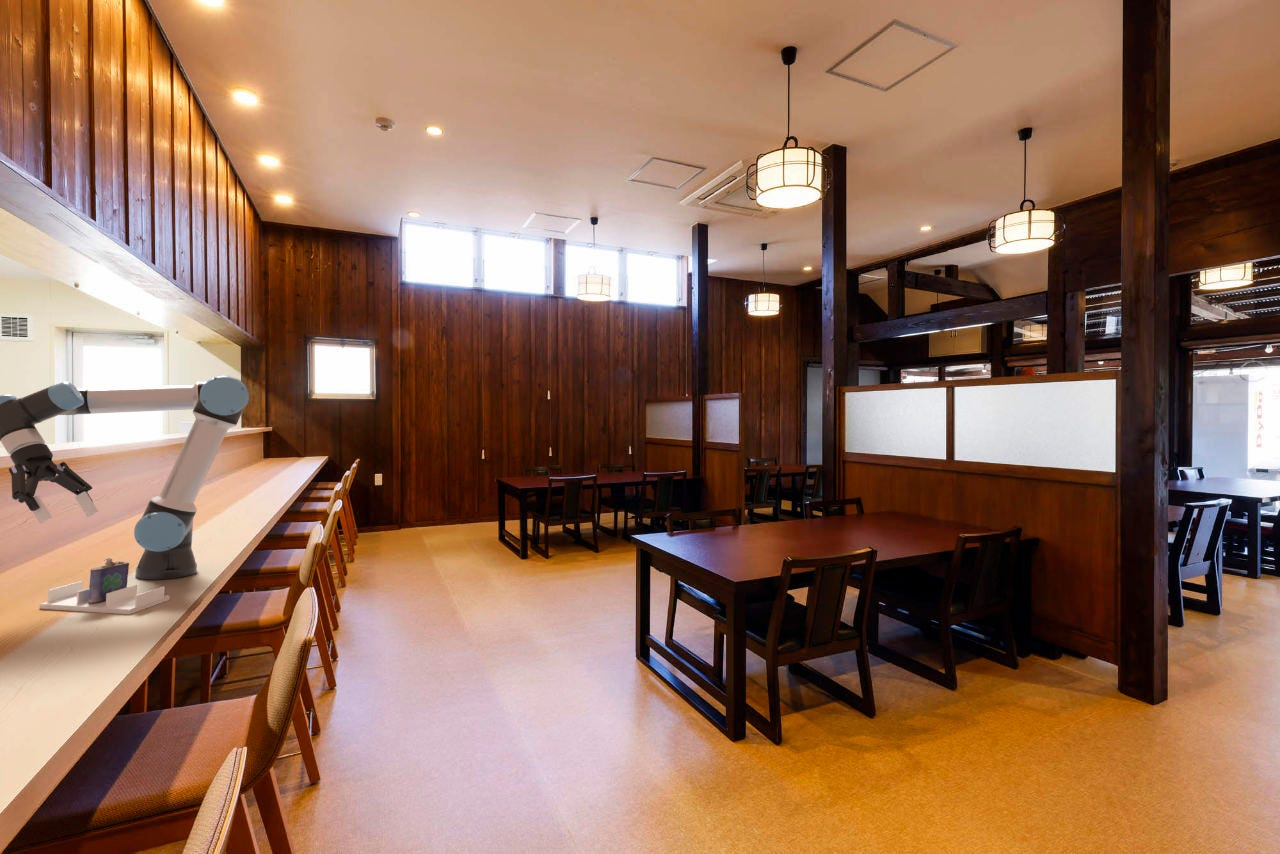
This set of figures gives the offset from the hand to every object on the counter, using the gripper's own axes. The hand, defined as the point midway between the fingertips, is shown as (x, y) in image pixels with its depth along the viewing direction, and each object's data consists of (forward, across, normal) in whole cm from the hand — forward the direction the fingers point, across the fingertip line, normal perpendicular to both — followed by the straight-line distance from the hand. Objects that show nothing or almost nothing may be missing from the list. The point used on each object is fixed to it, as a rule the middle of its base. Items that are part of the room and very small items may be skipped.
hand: (70, 517), depth 161 cm
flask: (+24, +2, -2) cm, 24 cm away
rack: (+25, +2, -3) cm, 25 cm away
